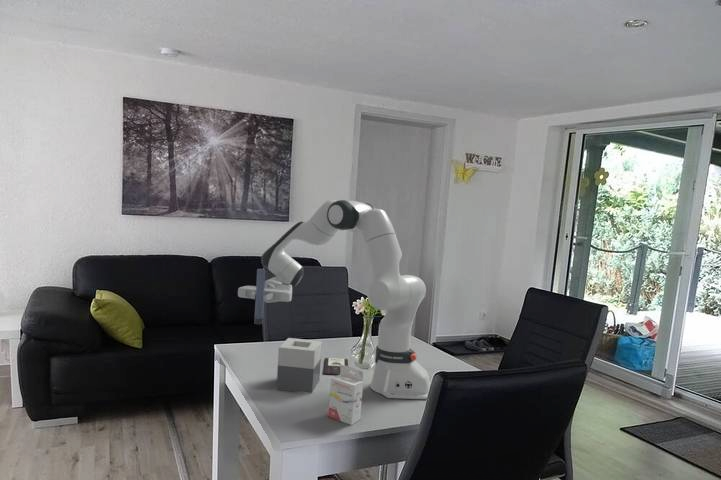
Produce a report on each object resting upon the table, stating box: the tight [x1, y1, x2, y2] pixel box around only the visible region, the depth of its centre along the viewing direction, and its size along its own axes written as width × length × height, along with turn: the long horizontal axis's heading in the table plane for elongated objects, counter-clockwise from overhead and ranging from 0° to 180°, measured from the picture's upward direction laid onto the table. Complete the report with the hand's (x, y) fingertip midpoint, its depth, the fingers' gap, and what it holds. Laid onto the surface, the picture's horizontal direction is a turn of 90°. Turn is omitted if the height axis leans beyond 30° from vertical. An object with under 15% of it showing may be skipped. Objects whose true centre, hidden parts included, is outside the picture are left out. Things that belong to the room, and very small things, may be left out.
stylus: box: [253, 268, 267, 325], centre depth 178 cm, size 3×3×20 cm
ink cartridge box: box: [327, 365, 364, 426], centre depth 141 cm, size 9×5×15 cm, turn 58°
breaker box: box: [275, 337, 323, 394], centre depth 165 cm, size 12×12×14 cm
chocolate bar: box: [322, 357, 349, 376], centre depth 187 cm, size 9×1×18 cm
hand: (259, 297), depth 177 cm, fingers closed on stylus, 3 cm apart
